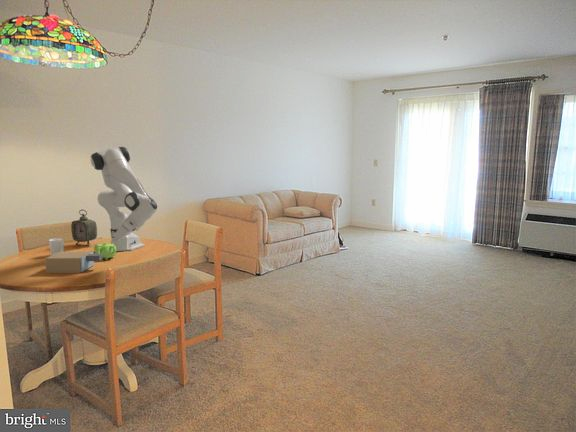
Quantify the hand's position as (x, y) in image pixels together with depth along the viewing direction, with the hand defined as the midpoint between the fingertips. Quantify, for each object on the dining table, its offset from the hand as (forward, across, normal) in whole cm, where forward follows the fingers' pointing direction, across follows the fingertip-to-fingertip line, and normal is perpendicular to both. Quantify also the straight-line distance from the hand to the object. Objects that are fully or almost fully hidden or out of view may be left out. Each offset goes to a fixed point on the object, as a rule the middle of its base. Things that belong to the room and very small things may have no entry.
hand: (116, 240), depth 222 cm
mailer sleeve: (+30, 0, -7) cm, 31 cm away
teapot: (+23, -23, 0) cm, 32 cm away
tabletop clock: (+42, -58, -19) cm, 74 cm away
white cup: (+46, -31, -23) cm, 60 cm away
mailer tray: (+26, 0, -4) cm, 27 cm away
